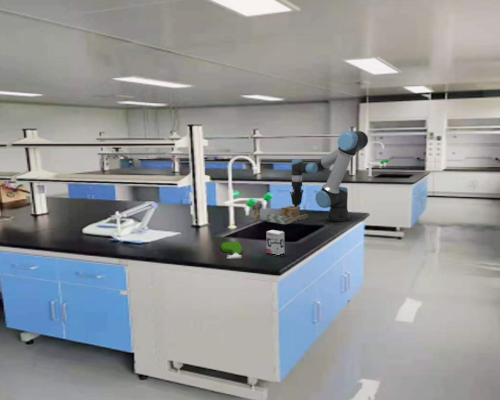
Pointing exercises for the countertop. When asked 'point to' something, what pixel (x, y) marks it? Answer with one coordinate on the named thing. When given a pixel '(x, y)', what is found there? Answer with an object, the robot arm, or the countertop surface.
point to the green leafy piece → (232, 249)
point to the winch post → (257, 211)
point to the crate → (290, 211)
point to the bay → (284, 218)
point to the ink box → (275, 242)
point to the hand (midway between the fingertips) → (296, 213)
